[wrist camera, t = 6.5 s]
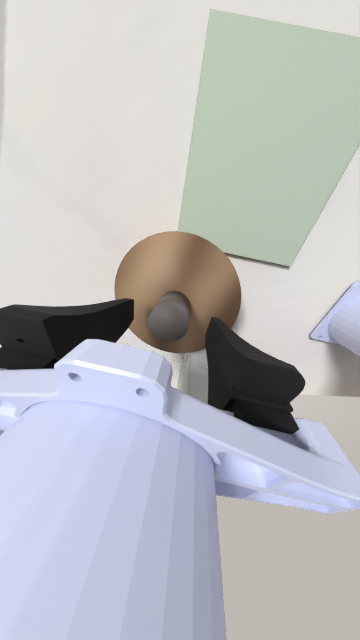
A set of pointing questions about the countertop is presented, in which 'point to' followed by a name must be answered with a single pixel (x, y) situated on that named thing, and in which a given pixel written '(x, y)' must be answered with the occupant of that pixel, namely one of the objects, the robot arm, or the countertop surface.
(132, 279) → the lid
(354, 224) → the countertop surface
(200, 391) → the small box
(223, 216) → the mat
